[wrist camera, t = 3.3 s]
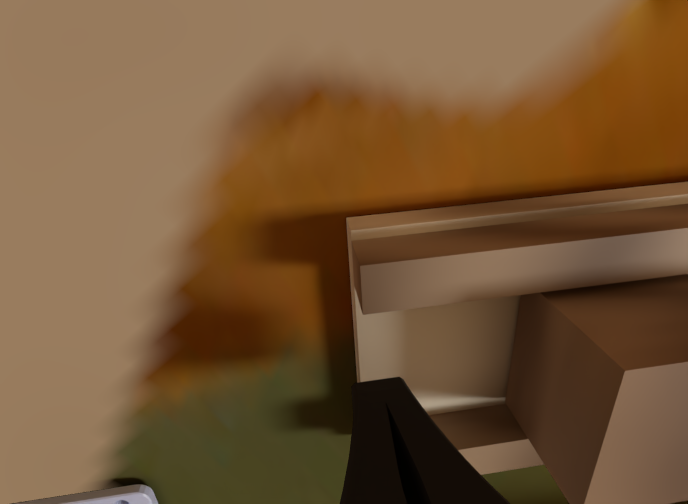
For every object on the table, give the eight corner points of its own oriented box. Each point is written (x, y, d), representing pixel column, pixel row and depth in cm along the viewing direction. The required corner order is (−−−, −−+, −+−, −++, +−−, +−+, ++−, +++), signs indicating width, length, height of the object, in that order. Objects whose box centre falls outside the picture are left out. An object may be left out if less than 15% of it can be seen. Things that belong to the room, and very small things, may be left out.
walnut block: (505, 402, 14) (579, 519, 10) (523, 277, 12) (625, 370, 8) (664, 378, 14) (787, 482, 11) (709, 254, 12) (882, 333, 9)
